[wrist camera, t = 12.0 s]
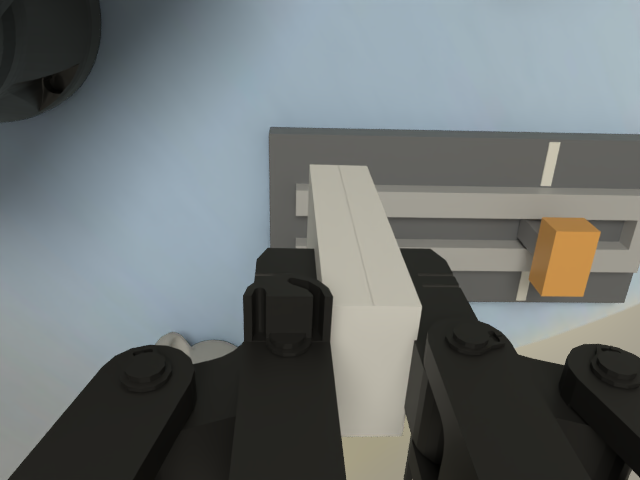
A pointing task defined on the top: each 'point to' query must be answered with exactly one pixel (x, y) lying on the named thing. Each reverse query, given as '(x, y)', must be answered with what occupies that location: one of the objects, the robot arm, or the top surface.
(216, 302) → the top surface
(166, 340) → the cup
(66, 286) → the top surface
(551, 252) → the fader knob
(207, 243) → the top surface
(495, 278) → the fader console
